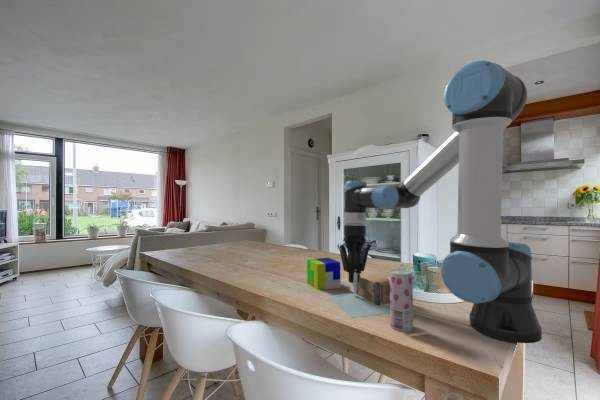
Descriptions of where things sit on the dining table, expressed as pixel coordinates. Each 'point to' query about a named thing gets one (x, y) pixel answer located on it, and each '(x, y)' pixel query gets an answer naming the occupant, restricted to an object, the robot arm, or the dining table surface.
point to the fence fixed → (385, 293)
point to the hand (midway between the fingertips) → (353, 291)
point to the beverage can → (401, 300)
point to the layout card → (359, 305)
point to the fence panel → (369, 290)
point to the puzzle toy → (323, 273)
